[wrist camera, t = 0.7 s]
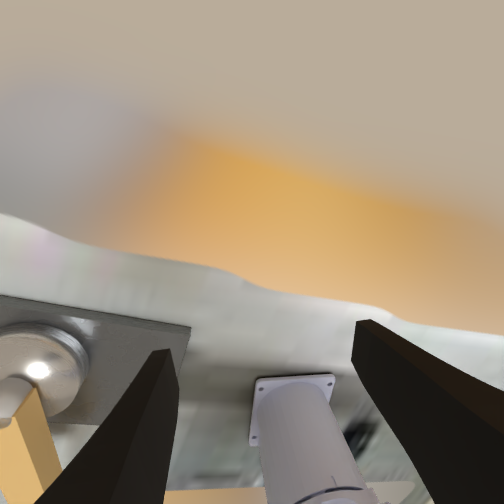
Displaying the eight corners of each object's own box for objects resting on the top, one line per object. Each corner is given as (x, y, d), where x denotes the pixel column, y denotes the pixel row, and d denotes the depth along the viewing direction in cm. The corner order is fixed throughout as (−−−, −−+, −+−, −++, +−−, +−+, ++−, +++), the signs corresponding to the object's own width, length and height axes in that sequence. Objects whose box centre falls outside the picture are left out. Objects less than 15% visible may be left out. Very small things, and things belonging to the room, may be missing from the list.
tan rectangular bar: (-11, 378, 16) (-39, 408, 14) (32, 376, 17) (10, 405, 15) (30, 481, 20) (13, 514, 18) (64, 477, 21) (50, 509, 19)
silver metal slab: (191, 327, 21) (188, 355, 18) (162, 418, 24) (156, 453, 22) (-131, 273, 16) (-202, 300, 13) (-108, 398, 19) (-160, 440, 17)
